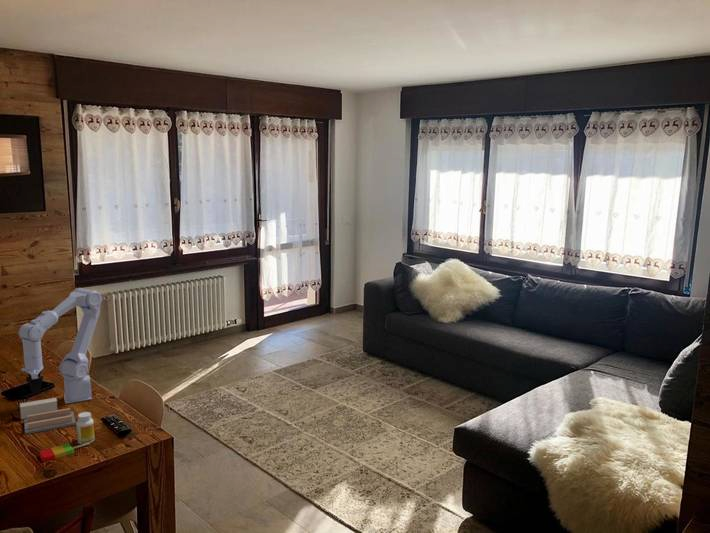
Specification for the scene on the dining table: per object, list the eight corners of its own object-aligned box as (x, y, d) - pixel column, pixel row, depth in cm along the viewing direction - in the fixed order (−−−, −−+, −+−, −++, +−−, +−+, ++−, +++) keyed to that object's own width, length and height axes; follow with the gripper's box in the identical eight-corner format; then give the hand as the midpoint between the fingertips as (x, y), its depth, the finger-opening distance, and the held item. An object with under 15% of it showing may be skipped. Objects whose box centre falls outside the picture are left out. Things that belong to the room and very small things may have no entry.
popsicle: (38, 456, 190) (38, 451, 189) (87, 442, 199) (86, 437, 199) (43, 463, 186) (42, 458, 185) (92, 449, 195) (92, 443, 195)
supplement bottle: (98, 438, 201) (96, 412, 199) (86, 445, 196) (84, 419, 194) (85, 435, 203) (84, 409, 201) (73, 442, 198) (71, 416, 196)
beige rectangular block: (57, 409, 222) (56, 397, 221) (57, 413, 219) (56, 401, 218) (21, 415, 216) (19, 403, 215) (21, 419, 213) (20, 407, 212)
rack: (73, 413, 219) (72, 406, 218) (75, 424, 210) (75, 417, 210) (24, 422, 211) (23, 414, 210) (25, 434, 203) (24, 426, 202)
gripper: (20, 351, 217) (23, 385, 220) (20, 364, 205) (23, 400, 208) (41, 348, 221) (44, 382, 224) (43, 360, 208) (46, 396, 211)
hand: (35, 390), depth 216 cm, fingers open, 7 cm apart
